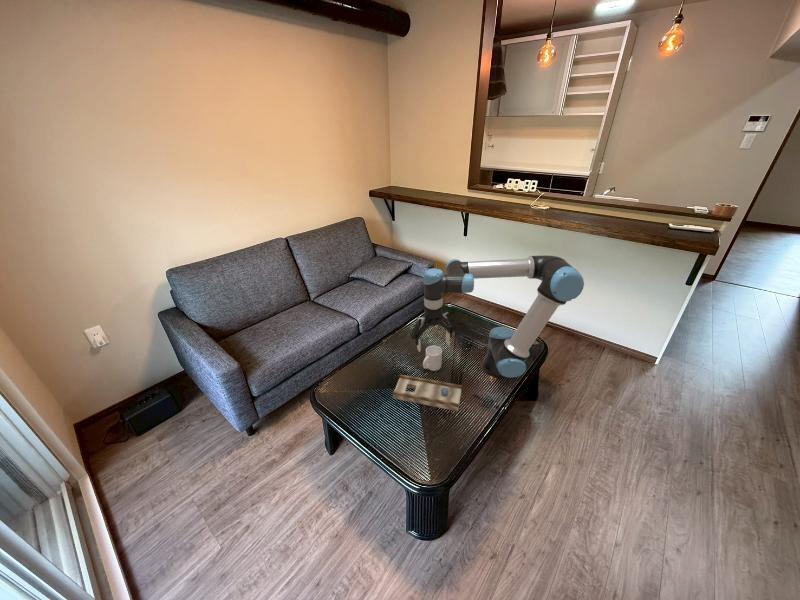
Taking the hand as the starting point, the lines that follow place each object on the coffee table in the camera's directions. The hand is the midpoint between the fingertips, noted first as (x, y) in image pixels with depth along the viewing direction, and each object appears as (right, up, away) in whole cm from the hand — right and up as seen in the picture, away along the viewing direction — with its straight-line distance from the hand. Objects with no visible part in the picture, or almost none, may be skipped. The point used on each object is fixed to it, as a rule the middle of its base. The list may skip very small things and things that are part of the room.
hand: (433, 346), depth 135 cm
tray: (-2, -24, +7) cm, 25 cm away
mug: (+1, -15, +23) cm, 27 cm away
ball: (+5, -21, +2) cm, 22 cm away
